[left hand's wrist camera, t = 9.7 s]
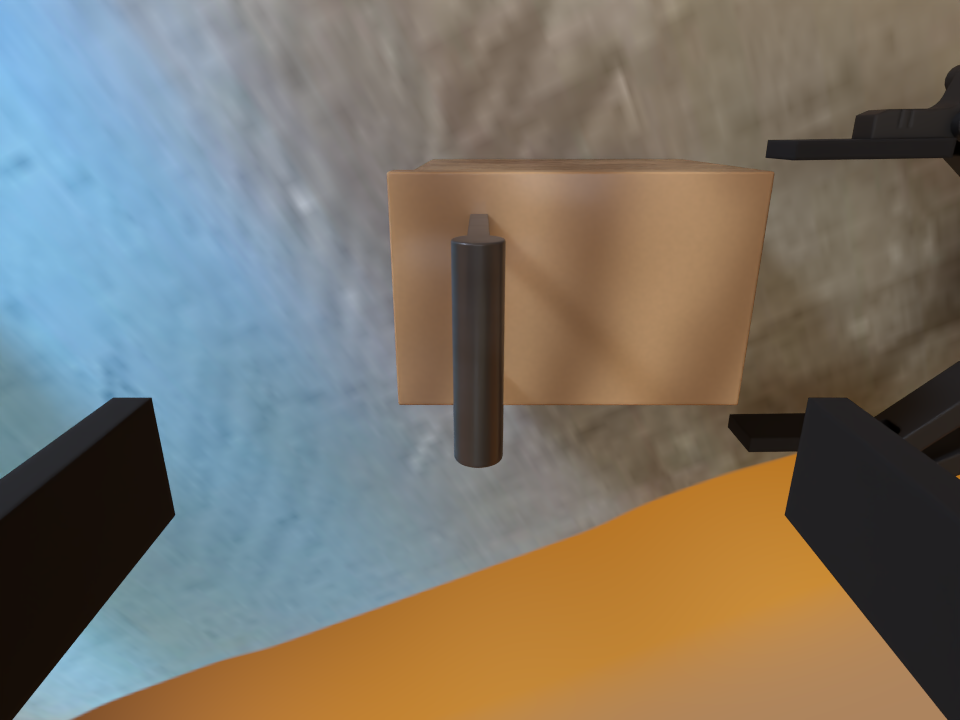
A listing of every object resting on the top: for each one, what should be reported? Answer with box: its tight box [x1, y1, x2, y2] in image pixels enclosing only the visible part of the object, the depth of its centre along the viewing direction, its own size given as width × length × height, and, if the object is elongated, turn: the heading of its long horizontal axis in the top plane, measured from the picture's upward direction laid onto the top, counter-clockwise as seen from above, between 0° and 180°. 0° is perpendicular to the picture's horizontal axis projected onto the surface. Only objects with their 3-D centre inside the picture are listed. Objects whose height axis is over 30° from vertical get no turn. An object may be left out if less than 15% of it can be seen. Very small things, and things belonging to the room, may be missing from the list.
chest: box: [415, 159, 757, 170], centre depth 30 cm, size 14×10×10 cm
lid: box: [387, 170, 774, 468], centre depth 22 cm, size 14×10×9 cm, turn 90°
